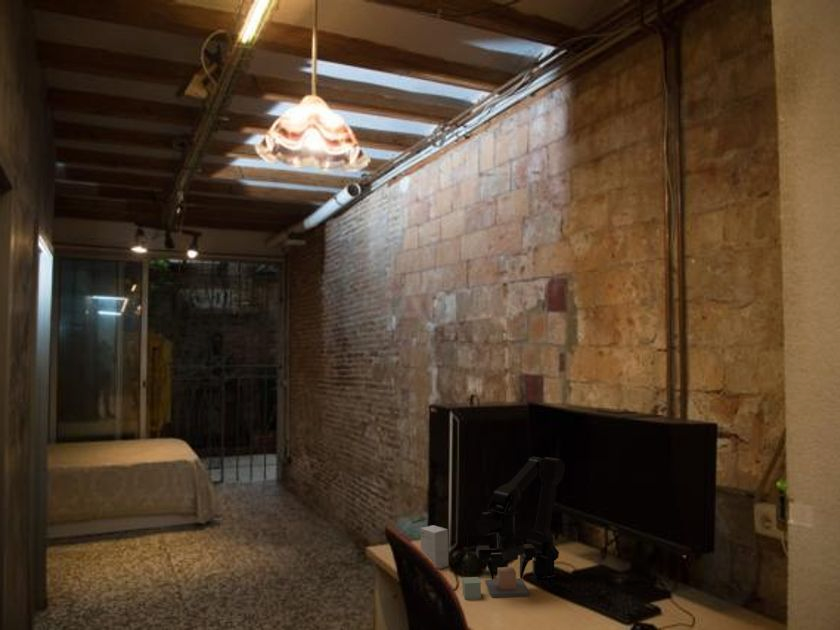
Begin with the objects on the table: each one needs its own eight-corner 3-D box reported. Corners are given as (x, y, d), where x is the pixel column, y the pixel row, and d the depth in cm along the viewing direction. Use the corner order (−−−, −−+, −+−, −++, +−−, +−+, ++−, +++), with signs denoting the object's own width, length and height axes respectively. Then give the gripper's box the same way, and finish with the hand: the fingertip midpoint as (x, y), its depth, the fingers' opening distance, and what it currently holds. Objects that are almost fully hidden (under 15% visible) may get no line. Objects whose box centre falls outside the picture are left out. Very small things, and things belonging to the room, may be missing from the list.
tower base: (521, 582, 213) (521, 578, 213) (529, 596, 201) (529, 592, 202) (485, 583, 213) (485, 579, 213) (491, 597, 201) (491, 593, 201)
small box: (448, 566, 229) (448, 529, 230) (435, 570, 225) (434, 532, 226) (434, 560, 236) (433, 524, 236) (420, 564, 232) (420, 527, 232)
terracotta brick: (513, 582, 210) (512, 566, 210) (516, 588, 205) (516, 572, 205) (497, 583, 209) (497, 567, 210) (500, 589, 204) (500, 573, 205)
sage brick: (478, 593, 205) (478, 577, 205) (480, 599, 200) (480, 582, 200) (462, 593, 205) (462, 577, 205) (464, 599, 200) (464, 583, 200)
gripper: (480, 537, 199) (481, 589, 199) (540, 535, 200) (541, 587, 200) (475, 527, 210) (476, 576, 210) (532, 525, 212) (533, 574, 211)
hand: (506, 578), depth 207 cm, fingers open, 9 cm apart
